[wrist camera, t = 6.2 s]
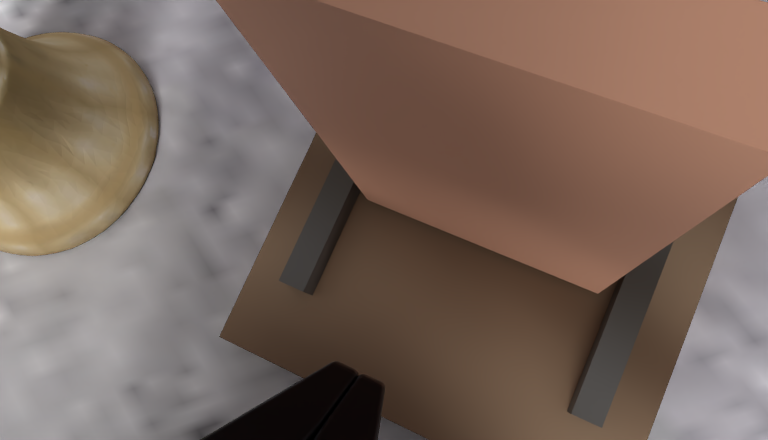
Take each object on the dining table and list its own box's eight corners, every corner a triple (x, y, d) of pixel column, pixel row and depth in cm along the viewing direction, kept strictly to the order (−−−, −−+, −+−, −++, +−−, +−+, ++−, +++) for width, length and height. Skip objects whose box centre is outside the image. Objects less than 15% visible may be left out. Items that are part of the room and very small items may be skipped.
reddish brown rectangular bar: (598, 293, 18) (791, 158, 6) (367, 199, 19) (182, -45, 8) (617, 243, 18) (840, 23, 6) (388, 154, 20) (237, -148, 8)
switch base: (605, 519, 18) (669, 607, 11) (234, 338, 21) (114, 325, 14) (734, 176, 19) (858, 78, 13) (370, 49, 22) (319, -84, 16)
